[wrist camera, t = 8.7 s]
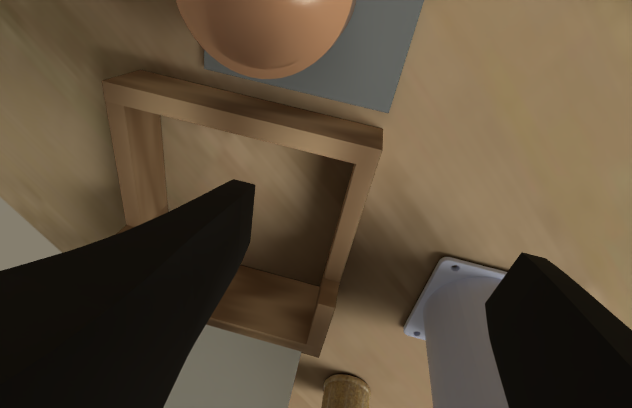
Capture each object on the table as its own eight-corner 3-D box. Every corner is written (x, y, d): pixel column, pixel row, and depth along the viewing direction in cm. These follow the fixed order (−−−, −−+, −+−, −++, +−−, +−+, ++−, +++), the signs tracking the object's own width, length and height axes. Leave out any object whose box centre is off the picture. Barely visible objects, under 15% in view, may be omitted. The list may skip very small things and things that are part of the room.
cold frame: (383, 128, 18) (379, 262, 9) (325, 312, 26) (293, 475, 17) (140, 69, 19) (-94, 137, 10) (161, 267, 27) (49, 401, 18)
